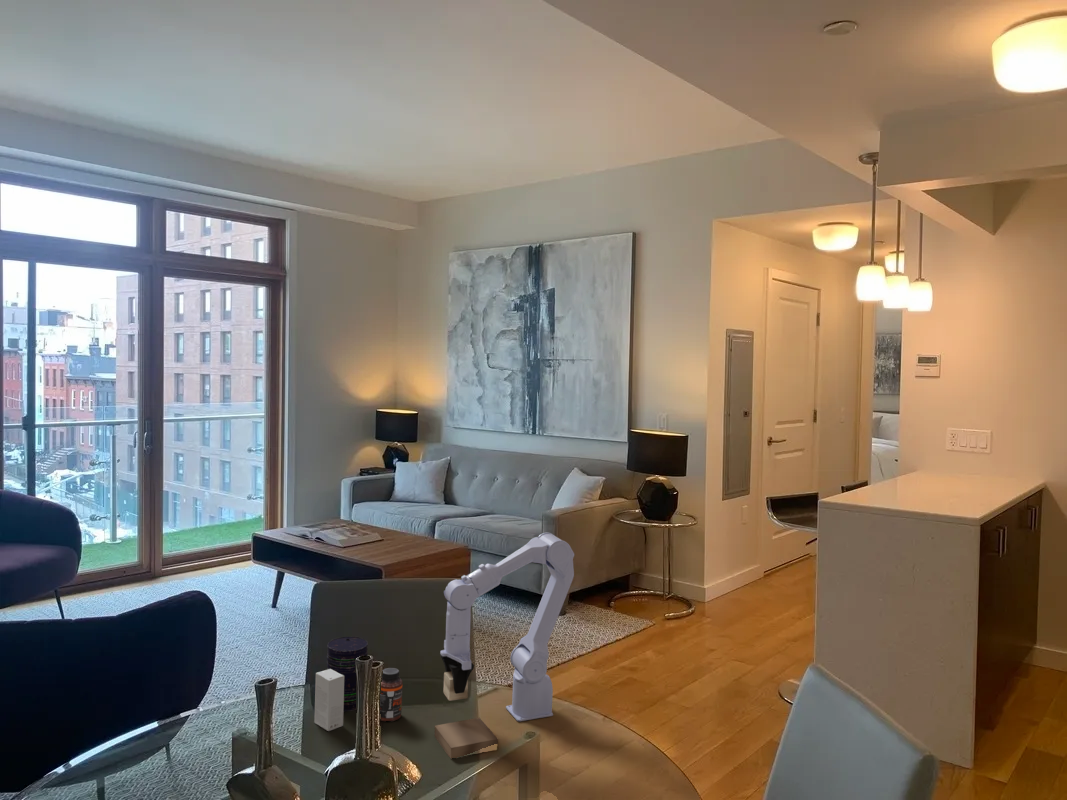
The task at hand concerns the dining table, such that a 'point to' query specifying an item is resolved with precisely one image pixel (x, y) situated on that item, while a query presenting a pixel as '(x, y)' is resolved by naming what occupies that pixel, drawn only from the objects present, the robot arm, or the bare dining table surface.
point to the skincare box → (329, 699)
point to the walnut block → (464, 737)
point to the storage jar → (346, 664)
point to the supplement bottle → (391, 695)
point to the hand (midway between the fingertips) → (456, 688)
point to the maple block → (452, 688)
